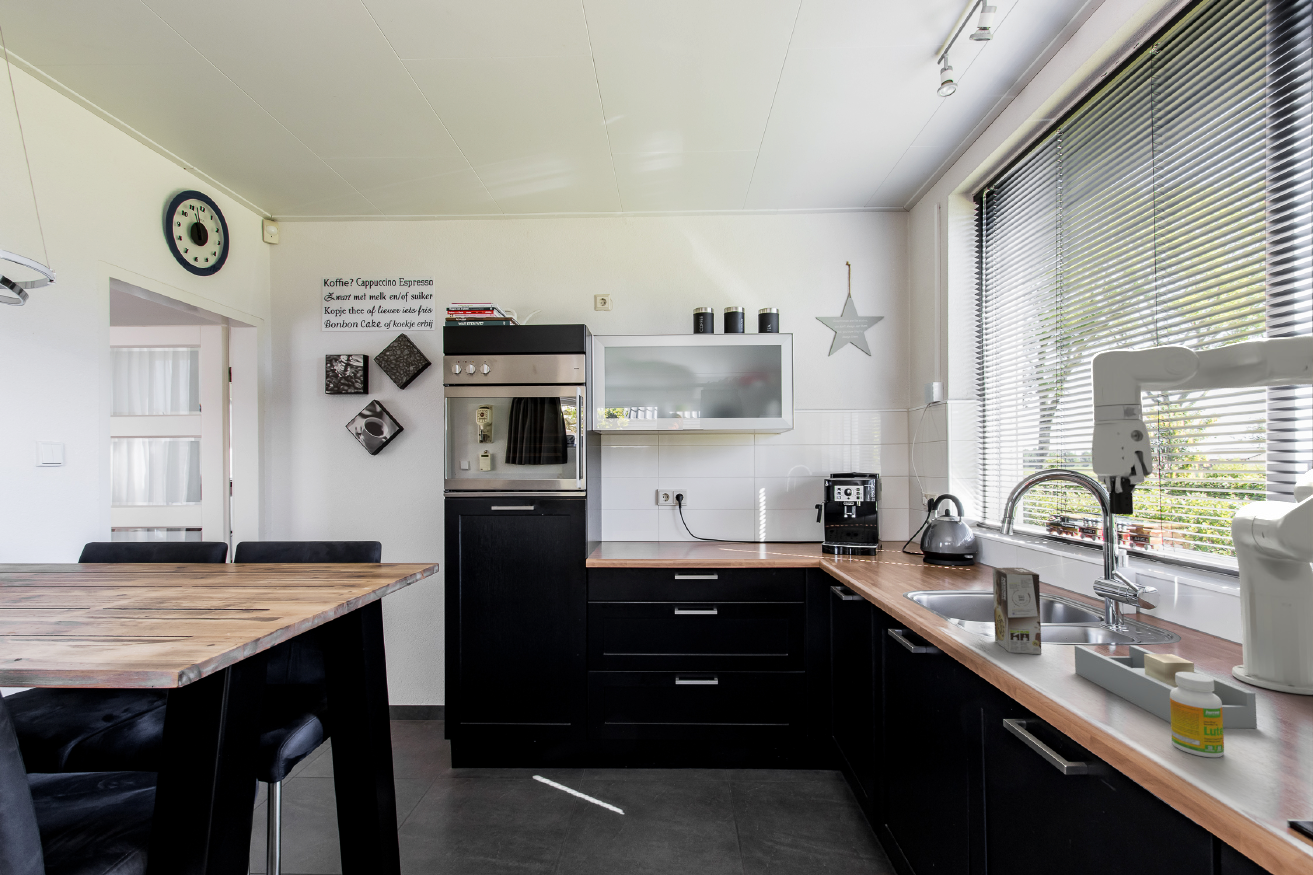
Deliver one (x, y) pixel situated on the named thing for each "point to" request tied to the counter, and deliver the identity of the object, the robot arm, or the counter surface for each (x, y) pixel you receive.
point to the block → (1166, 667)
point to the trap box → (1158, 686)
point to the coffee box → (1017, 610)
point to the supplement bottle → (1196, 716)
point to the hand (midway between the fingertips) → (1121, 513)
